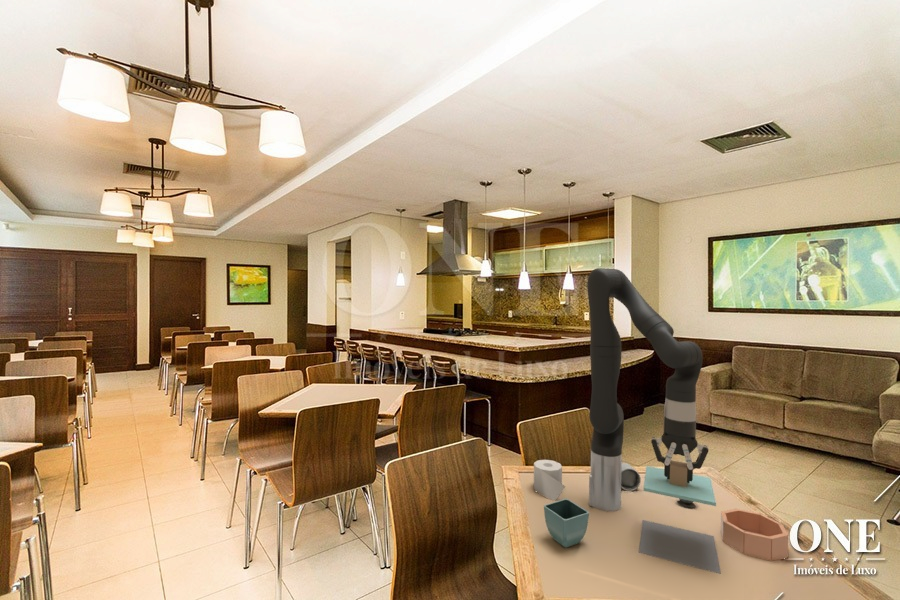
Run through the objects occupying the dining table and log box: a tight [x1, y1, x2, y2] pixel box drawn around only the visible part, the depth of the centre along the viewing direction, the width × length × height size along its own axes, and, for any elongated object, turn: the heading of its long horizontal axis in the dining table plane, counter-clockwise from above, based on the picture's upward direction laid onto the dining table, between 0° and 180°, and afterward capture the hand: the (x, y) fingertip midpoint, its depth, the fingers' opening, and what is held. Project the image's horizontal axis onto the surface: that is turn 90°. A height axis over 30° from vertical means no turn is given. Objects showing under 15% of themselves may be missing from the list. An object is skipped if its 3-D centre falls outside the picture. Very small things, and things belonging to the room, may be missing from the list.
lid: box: [642, 459, 717, 507], centre depth 113 cm, size 16×16×6 cm
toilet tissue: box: [533, 459, 566, 501], centre depth 144 cm, size 9×13×9 cm
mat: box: [638, 519, 722, 575], centre depth 114 cm, size 18×18×1 cm
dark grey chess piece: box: [676, 499, 697, 509], centre depth 136 cm, size 6×6×12 cm
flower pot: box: [543, 498, 590, 549], centre depth 115 cm, size 9×9×9 cm
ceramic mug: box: [621, 461, 642, 492], centre depth 149 cm, size 11×8×8 cm
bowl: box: [720, 508, 789, 562], centre depth 114 cm, size 14×14×6 cm
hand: (677, 479), depth 113 cm, fingers closed on lid, 4 cm apart
